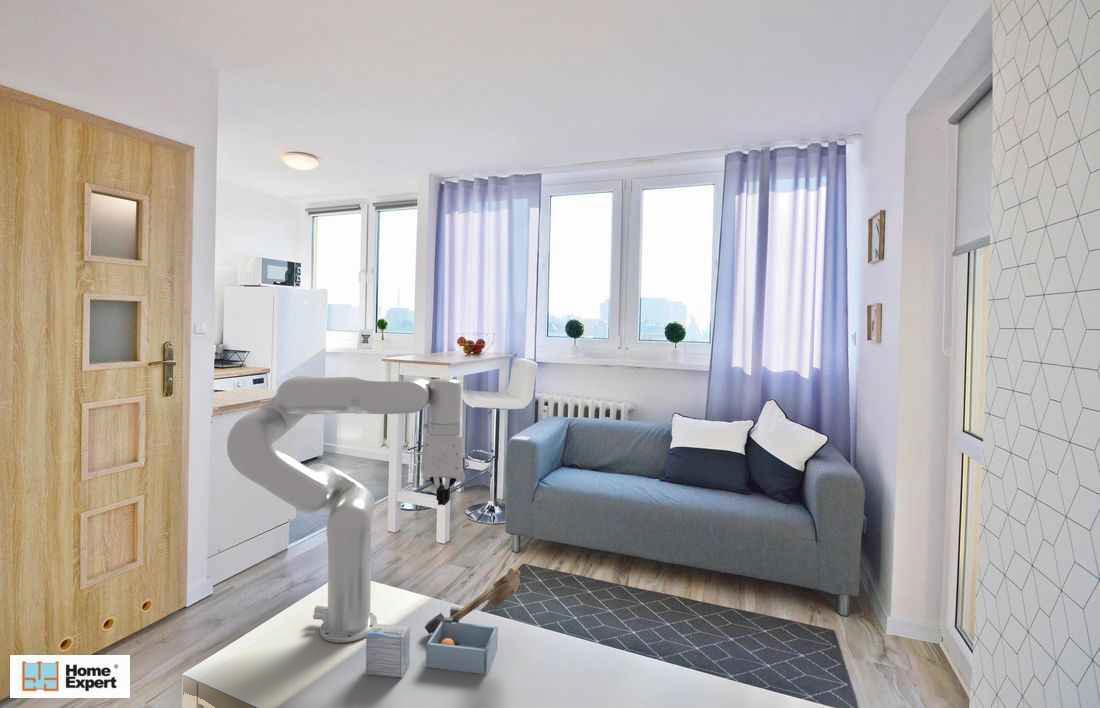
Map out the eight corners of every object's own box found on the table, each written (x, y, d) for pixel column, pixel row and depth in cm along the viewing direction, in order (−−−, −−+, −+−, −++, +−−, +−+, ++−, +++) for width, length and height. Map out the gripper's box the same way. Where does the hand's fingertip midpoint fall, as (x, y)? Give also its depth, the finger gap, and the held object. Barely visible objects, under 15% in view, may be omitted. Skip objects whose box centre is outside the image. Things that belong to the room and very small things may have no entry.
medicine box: (410, 665, 112) (410, 625, 111) (402, 679, 107) (402, 637, 107) (374, 662, 112) (375, 622, 112) (365, 675, 108) (365, 634, 108)
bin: (426, 667, 111) (426, 644, 111) (441, 642, 120) (441, 621, 120) (486, 674, 109) (487, 650, 109) (497, 648, 118) (497, 626, 118)
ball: (454, 649, 113) (447, 661, 113) (459, 640, 116) (451, 652, 117) (442, 640, 113) (434, 652, 114) (447, 632, 117) (440, 643, 117)
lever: (417, 662, 113) (408, 649, 113) (436, 633, 124) (427, 621, 124) (515, 593, 109) (505, 580, 109) (525, 569, 120) (516, 557, 121)
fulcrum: (433, 644, 119) (434, 620, 119) (444, 627, 126) (444, 604, 126) (459, 647, 118) (459, 623, 118) (468, 630, 125) (468, 607, 125)
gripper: (409, 430, 126) (408, 506, 126) (469, 433, 123) (467, 510, 124) (421, 425, 133) (420, 496, 134) (478, 428, 131) (476, 500, 131)
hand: (443, 503), depth 129 cm, fingers closed
